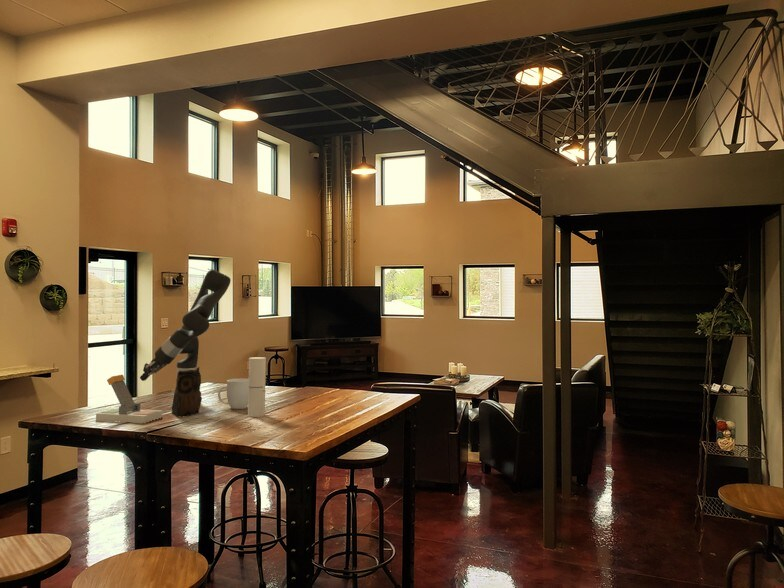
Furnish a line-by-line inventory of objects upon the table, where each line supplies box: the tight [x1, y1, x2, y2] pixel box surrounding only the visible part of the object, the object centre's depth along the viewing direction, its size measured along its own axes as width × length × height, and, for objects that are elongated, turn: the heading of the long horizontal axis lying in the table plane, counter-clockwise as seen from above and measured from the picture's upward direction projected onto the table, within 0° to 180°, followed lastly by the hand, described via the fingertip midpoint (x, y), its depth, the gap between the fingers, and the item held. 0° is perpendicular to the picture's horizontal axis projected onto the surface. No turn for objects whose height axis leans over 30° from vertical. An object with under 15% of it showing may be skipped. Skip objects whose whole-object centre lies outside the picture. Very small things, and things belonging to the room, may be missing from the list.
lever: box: [106, 374, 137, 412], centre depth 228 cm, size 3×6×16 cm, turn 170°
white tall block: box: [247, 356, 267, 418], centre depth 239 cm, size 7×7×25 cm
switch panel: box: [95, 402, 163, 424], centre depth 227 cm, size 22×12×6 cm, turn 80°
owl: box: [171, 366, 203, 418], centre depth 240 cm, size 13×13×20 cm
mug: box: [217, 378, 249, 410], centre depth 255 cm, size 15×11×13 cm
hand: (142, 379), depth 226 cm, fingers closed
